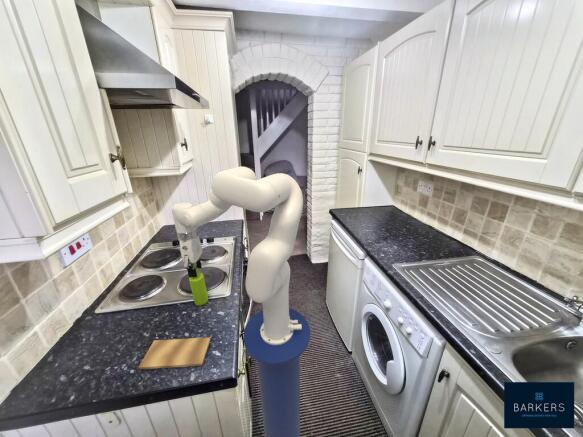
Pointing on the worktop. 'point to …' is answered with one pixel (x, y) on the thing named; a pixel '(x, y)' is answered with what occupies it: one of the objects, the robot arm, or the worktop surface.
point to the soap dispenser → (198, 288)
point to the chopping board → (176, 353)
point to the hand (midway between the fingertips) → (195, 272)
